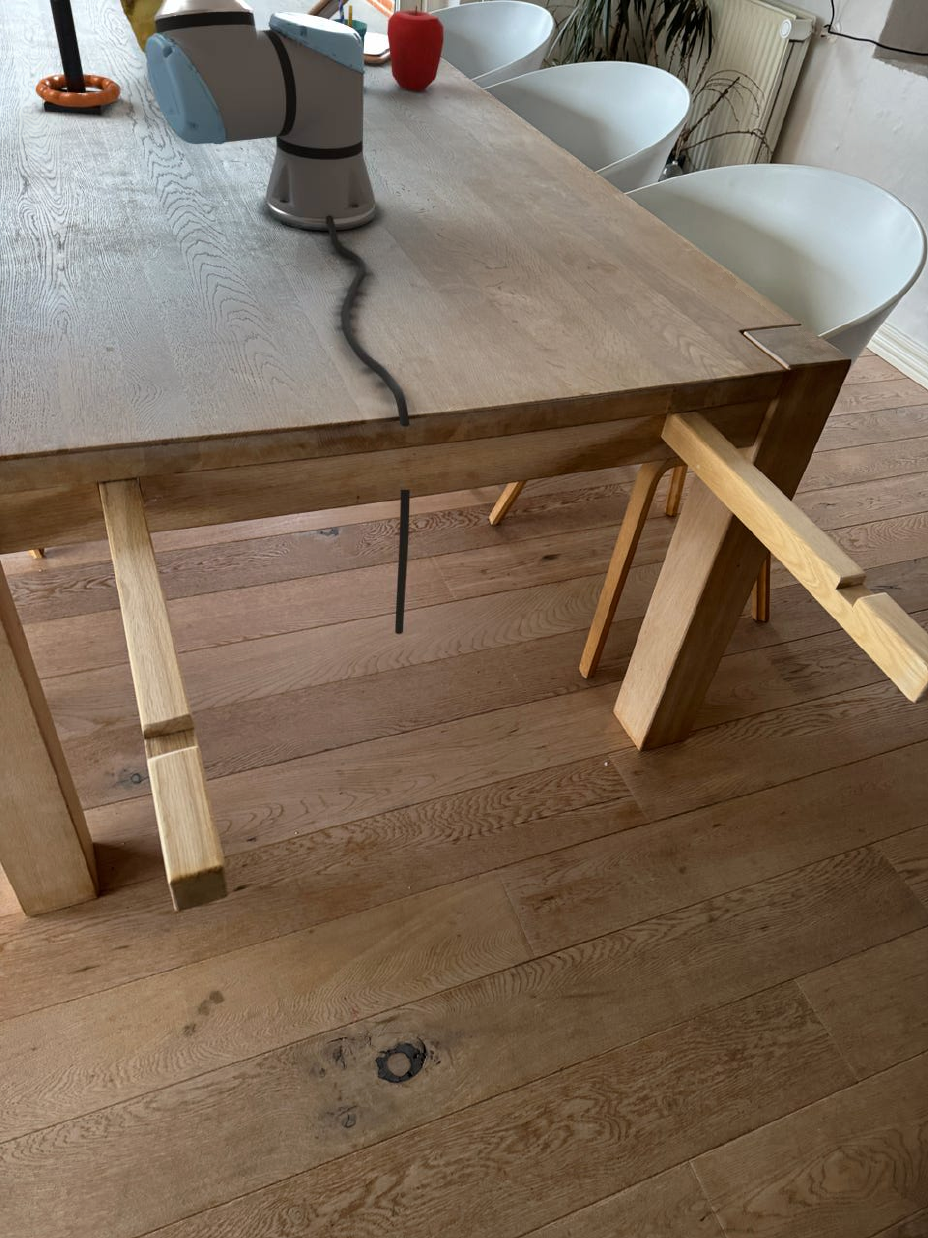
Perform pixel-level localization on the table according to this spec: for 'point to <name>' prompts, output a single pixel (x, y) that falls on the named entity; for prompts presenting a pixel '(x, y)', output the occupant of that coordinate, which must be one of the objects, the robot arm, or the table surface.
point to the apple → (414, 48)
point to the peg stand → (69, 60)
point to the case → (374, 43)
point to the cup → (352, 22)
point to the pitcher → (141, 18)
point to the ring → (103, 97)
